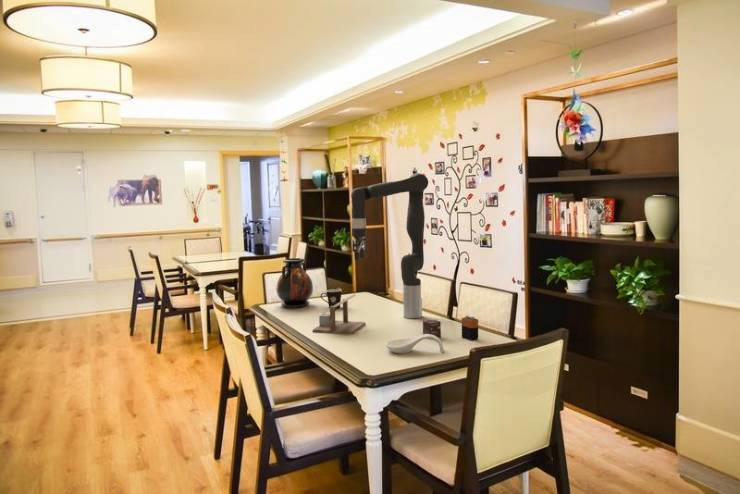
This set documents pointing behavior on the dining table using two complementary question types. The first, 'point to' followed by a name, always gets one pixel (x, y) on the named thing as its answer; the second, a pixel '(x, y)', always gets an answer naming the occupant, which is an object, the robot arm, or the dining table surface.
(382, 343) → the dining table surface
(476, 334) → the battery
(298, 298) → the amphora vase
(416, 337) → the spoon rest
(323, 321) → the gray cube
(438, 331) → the box
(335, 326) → the stand
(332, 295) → the coffee mug
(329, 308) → the trapdoor
